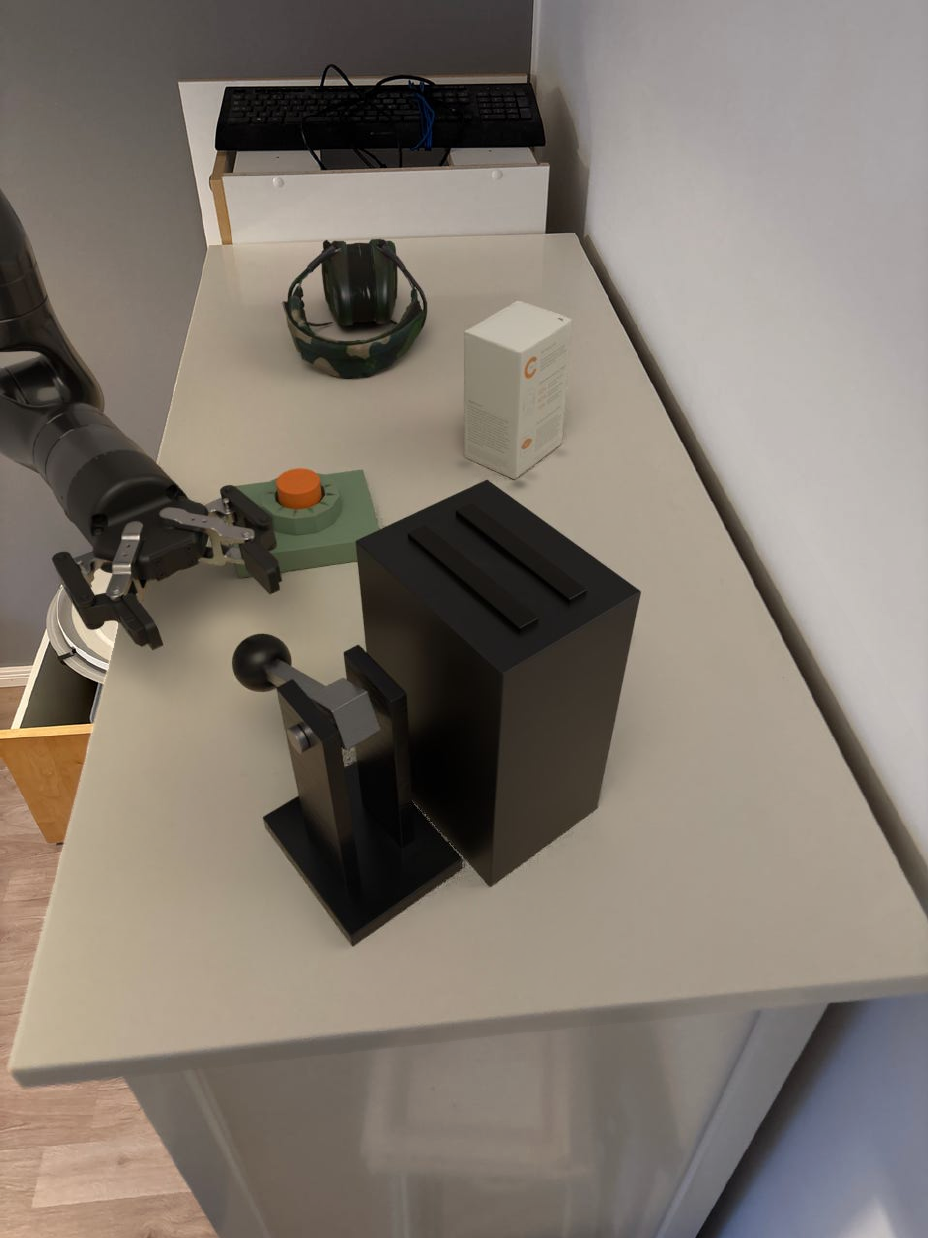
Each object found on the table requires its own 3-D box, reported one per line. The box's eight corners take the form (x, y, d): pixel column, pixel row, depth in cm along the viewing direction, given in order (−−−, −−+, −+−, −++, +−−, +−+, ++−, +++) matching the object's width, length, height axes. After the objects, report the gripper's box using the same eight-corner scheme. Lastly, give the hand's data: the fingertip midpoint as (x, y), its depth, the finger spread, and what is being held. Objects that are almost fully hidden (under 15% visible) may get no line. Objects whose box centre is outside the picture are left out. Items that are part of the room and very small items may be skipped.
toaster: (376, 759, 60) (354, 535, 46) (479, 696, 64) (487, 473, 50) (490, 887, 53) (503, 669, 40) (597, 808, 57) (643, 585, 44)
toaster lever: (235, 693, 56) (214, 643, 55) (285, 667, 58) (266, 618, 56) (338, 768, 45) (315, 707, 43) (396, 733, 46) (376, 674, 45)
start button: (280, 513, 73) (277, 496, 72) (276, 487, 76) (274, 470, 74) (324, 507, 74) (322, 490, 72) (319, 482, 76) (317, 465, 75)
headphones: (268, 258, 104) (272, 364, 92) (343, 175, 98) (357, 278, 86) (353, 323, 113) (367, 428, 101) (427, 251, 107) (451, 353, 95)
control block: (238, 578, 73) (229, 540, 70) (232, 506, 80) (224, 469, 77) (383, 557, 75) (380, 520, 72) (364, 488, 82) (361, 452, 79)
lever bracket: (264, 827, 56) (222, 668, 46) (370, 763, 60) (353, 602, 49) (352, 947, 50) (326, 797, 40) (463, 869, 54) (465, 712, 44)
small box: (511, 422, 90) (517, 297, 81) (563, 444, 87) (576, 318, 78) (461, 457, 85) (462, 329, 76) (514, 481, 83) (521, 352, 74)
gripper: (2, 486, 61) (95, 615, 52) (192, 418, 68) (304, 522, 59) (37, 569, 66) (128, 699, 57) (211, 498, 73) (316, 605, 64)
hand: (217, 609), depth 58 cm, fingers open, 8 cm apart
